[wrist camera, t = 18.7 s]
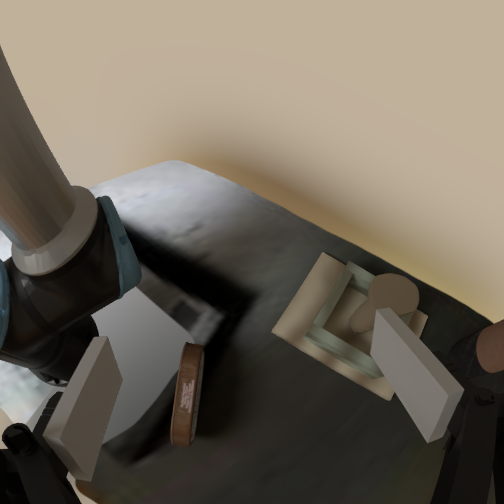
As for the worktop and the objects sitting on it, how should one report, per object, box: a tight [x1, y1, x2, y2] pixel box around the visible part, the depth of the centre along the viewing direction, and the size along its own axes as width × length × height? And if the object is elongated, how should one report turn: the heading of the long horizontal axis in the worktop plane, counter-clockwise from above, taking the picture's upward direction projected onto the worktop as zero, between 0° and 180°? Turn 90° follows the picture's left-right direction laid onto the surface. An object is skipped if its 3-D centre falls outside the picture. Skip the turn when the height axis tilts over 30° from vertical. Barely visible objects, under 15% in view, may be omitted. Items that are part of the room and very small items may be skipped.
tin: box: [171, 342, 205, 447], centre depth 40 cm, size 15×3×8 cm, turn 174°
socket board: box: [272, 252, 428, 400], centre depth 46 cm, size 22×16×6 cm
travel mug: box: [449, 320, 504, 378], centre depth 37 cm, size 8×8×20 cm
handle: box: [348, 273, 419, 334], centre depth 41 cm, size 5×6×15 cm
